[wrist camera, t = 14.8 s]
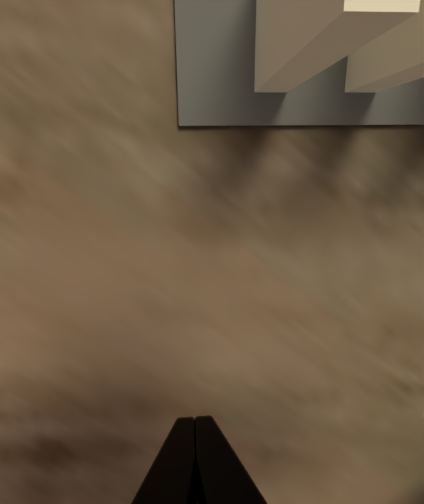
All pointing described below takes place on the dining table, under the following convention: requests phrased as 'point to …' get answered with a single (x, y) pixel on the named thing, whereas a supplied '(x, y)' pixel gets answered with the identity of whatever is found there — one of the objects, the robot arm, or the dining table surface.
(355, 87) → the domino
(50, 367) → the dining table surface
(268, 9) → the domino
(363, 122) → the domino mat
